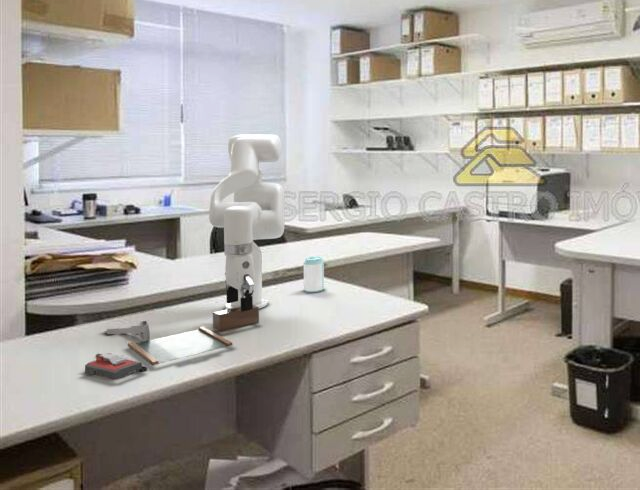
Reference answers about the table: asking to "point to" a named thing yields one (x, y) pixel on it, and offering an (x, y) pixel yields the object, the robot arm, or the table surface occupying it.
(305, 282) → the can
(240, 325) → the eraser
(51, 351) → the table surface
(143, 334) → the caliper
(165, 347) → the chalkboard
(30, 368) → the table surface
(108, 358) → the toy chainsaw
